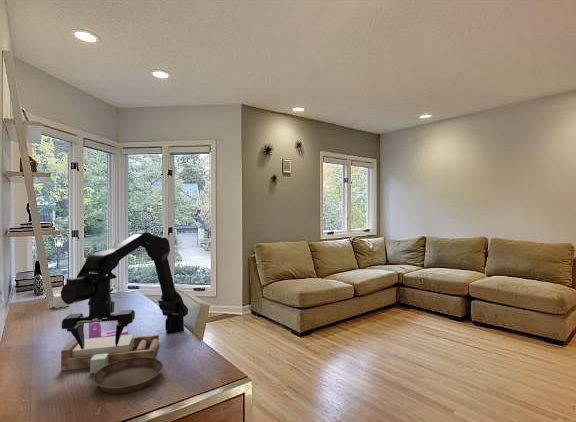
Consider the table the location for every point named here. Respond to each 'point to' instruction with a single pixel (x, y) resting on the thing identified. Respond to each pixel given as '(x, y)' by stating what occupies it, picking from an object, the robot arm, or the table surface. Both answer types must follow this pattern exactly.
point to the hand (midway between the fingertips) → (100, 347)
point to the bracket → (96, 332)
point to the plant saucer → (128, 374)
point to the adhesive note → (58, 301)
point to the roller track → (84, 361)
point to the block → (98, 362)
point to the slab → (104, 346)
